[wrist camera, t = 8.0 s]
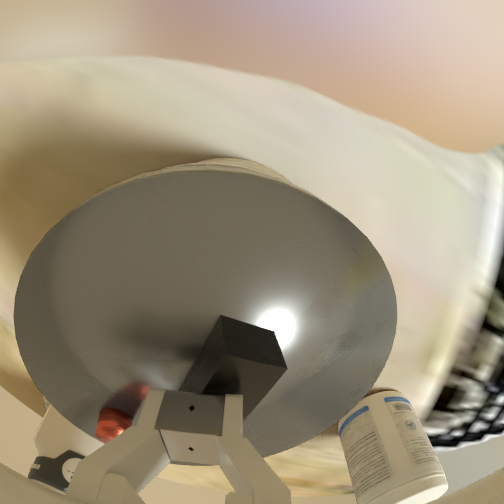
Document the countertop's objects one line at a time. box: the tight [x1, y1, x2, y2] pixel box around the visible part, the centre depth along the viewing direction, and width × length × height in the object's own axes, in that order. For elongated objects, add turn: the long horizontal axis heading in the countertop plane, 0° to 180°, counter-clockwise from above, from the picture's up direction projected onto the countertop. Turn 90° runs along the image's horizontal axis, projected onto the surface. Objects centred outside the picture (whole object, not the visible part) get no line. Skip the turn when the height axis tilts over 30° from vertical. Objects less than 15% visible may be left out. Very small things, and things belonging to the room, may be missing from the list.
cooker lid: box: [14, 166, 397, 466], centre depth 11 cm, size 16×16×3 cm
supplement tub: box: [338, 391, 448, 504], centre depth 24 cm, size 10×10×15 cm
